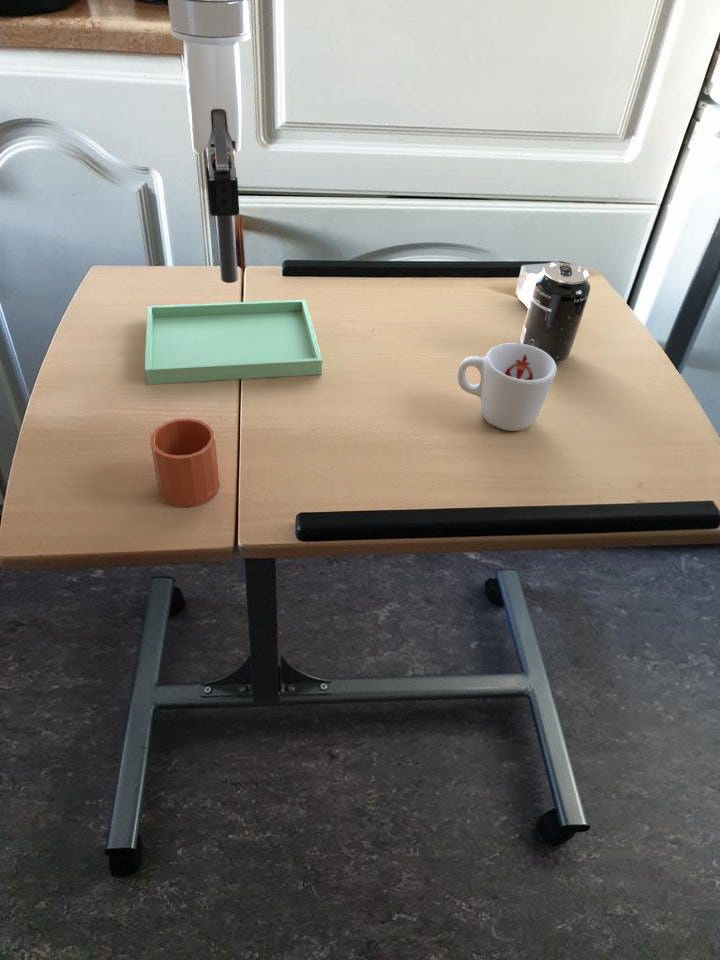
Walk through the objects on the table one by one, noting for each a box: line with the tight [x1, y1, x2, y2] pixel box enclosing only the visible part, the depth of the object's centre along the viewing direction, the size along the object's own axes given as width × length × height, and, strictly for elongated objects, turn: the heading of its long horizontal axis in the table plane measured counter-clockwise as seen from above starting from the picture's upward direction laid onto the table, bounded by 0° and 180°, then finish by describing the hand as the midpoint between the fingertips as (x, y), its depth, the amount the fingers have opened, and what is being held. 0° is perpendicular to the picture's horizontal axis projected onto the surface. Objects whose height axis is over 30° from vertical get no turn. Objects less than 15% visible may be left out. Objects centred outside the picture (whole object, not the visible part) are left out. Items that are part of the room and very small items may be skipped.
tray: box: [144, 299, 323, 386], centre depth 91 cm, size 21×15×2 cm
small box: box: [514, 262, 549, 309], centre depth 104 cm, size 6×6×5 cm
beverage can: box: [519, 260, 591, 364], centre depth 91 cm, size 7×7×12 cm
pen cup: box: [150, 417, 220, 508], centre depth 70 cm, size 6×6×6 cm
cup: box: [457, 342, 558, 432], centre depth 82 cm, size 11×8×8 cm
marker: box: [213, 157, 239, 284], centre depth 81 cm, size 2×2×14 cm
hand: (223, 207), depth 79 cm, fingers closed on marker, 2 cm apart
